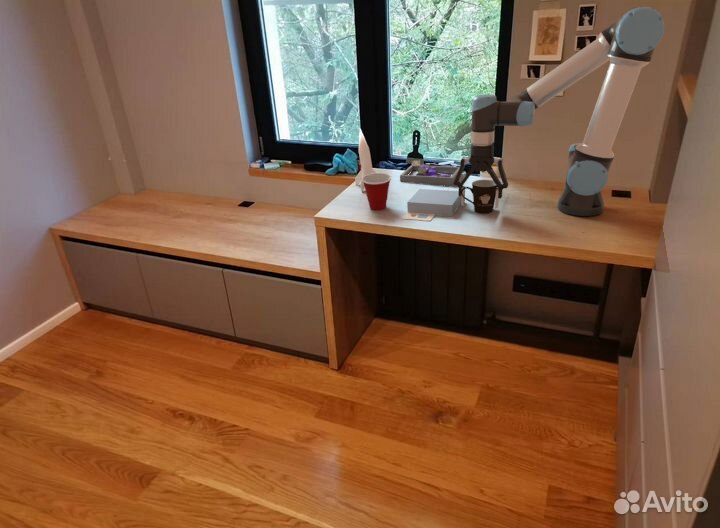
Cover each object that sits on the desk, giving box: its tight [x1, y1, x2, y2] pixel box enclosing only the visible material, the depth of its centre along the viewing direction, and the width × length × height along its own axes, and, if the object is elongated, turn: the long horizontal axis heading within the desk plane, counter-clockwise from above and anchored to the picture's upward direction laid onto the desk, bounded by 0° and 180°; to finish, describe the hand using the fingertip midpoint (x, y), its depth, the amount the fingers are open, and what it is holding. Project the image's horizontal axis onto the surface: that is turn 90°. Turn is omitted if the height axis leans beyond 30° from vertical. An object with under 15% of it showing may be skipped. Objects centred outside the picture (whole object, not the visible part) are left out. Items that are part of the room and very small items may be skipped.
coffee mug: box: [461, 179, 498, 215], centre depth 182 cm, size 12×9×10 cm
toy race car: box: [415, 163, 452, 177], centre depth 219 cm, size 10×15×6 cm, turn 66°
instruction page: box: [401, 211, 436, 222], centre depth 182 cm, size 10×7×1 cm
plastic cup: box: [362, 172, 392, 211], centre depth 189 cm, size 11×11×12 cm
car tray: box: [399, 164, 460, 187], centre depth 220 cm, size 22×17×4 cm
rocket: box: [354, 128, 377, 192], centre depth 207 cm, size 10×9×24 cm
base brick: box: [406, 188, 461, 217], centre depth 189 cm, size 16×16×4 cm
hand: (479, 205), depth 184 cm, fingers open, 11 cm apart
